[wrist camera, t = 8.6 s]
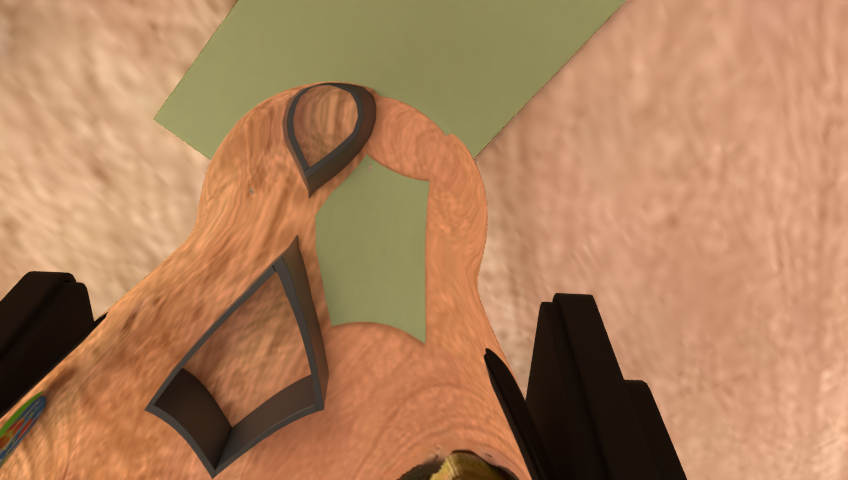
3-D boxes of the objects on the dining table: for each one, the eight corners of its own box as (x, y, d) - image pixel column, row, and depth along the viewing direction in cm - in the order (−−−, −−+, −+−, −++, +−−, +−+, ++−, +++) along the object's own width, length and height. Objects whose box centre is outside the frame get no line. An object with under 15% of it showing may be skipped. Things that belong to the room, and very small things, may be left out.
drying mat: (490, -352, 23) (492, -356, 22) (714, -98, 26) (719, -97, 26) (157, 114, 30) (152, 119, 29) (366, 264, 33) (365, 271, 33)
